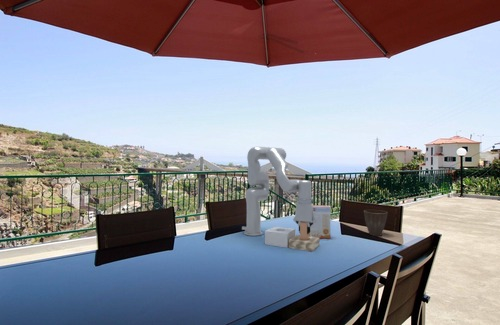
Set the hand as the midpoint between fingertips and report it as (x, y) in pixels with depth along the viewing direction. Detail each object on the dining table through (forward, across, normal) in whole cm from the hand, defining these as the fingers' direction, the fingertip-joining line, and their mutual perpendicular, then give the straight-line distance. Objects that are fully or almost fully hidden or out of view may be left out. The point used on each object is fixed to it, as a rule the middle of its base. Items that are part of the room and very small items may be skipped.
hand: (304, 232), depth 169 cm
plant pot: (+8, +34, +52) cm, 63 cm away
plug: (+6, 0, 0) cm, 6 cm away
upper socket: (+8, -15, 0) cm, 17 cm away
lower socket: (+8, 0, 0) cm, 8 cm away
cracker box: (+8, +2, +25) cm, 26 cm away
